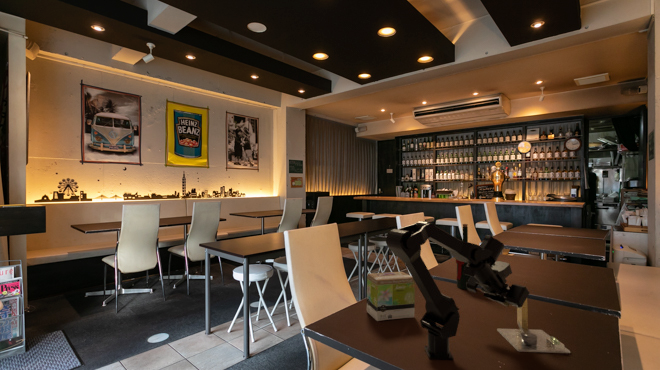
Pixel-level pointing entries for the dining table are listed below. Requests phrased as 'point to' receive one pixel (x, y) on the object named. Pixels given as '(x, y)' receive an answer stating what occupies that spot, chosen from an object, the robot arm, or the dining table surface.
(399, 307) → the tea box
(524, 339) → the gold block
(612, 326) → the dining table surface
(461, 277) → the wine bottle
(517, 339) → the plate
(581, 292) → the dining table surface
